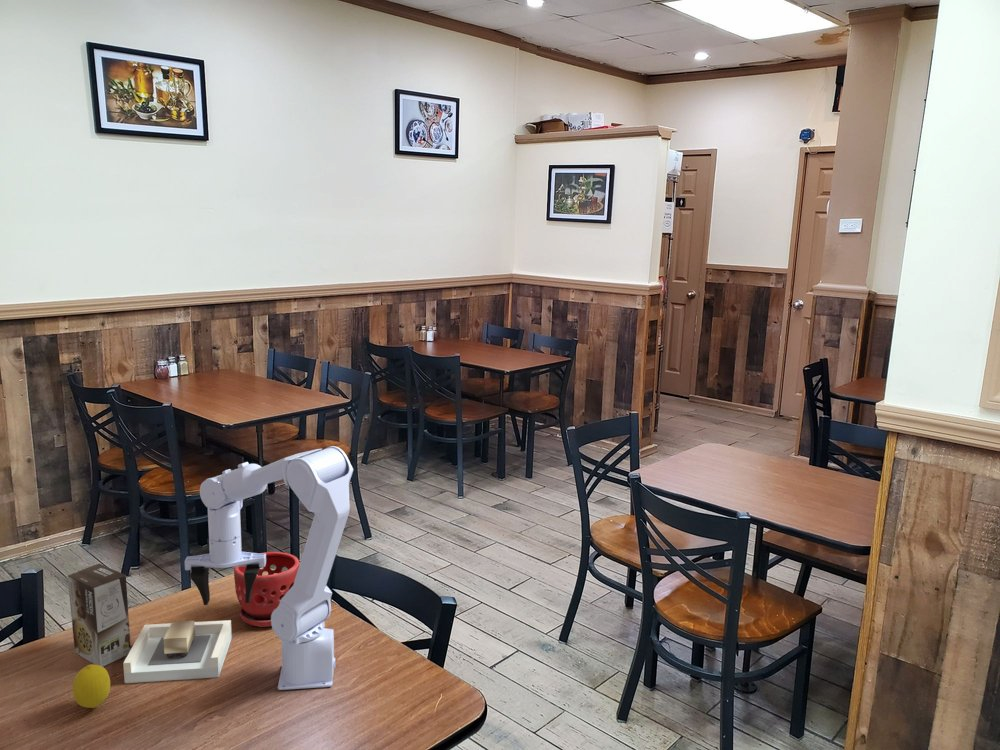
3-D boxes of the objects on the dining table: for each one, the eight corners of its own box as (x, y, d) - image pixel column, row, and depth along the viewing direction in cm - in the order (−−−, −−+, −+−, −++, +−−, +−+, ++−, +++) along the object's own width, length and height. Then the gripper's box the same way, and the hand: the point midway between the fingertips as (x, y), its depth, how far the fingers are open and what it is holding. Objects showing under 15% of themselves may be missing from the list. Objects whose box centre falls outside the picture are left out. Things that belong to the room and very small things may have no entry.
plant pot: (312, 615, 158) (312, 562, 155) (257, 639, 148) (255, 583, 146) (278, 594, 166) (277, 544, 164) (223, 615, 156) (221, 562, 154)
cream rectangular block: (195, 640, 143) (194, 620, 142) (187, 658, 137) (186, 637, 136) (173, 641, 142) (172, 621, 141) (164, 659, 136) (163, 638, 135)
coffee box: (133, 653, 142) (127, 574, 139) (99, 669, 136) (93, 588, 133) (105, 637, 147) (100, 561, 143) (72, 652, 141) (66, 574, 138)
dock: (231, 638, 148) (230, 620, 147) (218, 677, 135) (217, 657, 135) (145, 643, 145) (144, 624, 144) (124, 683, 133) (123, 663, 132)
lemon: (103, 693, 130) (100, 651, 128) (117, 707, 126) (114, 664, 125) (69, 708, 125) (65, 665, 124) (83, 722, 122) (79, 679, 120)
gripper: (267, 525, 146) (269, 589, 149) (189, 528, 144) (192, 593, 146) (262, 540, 139) (264, 607, 142) (180, 543, 137) (184, 611, 139)
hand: (227, 601), depth 144 cm, fingers open, 7 cm apart
